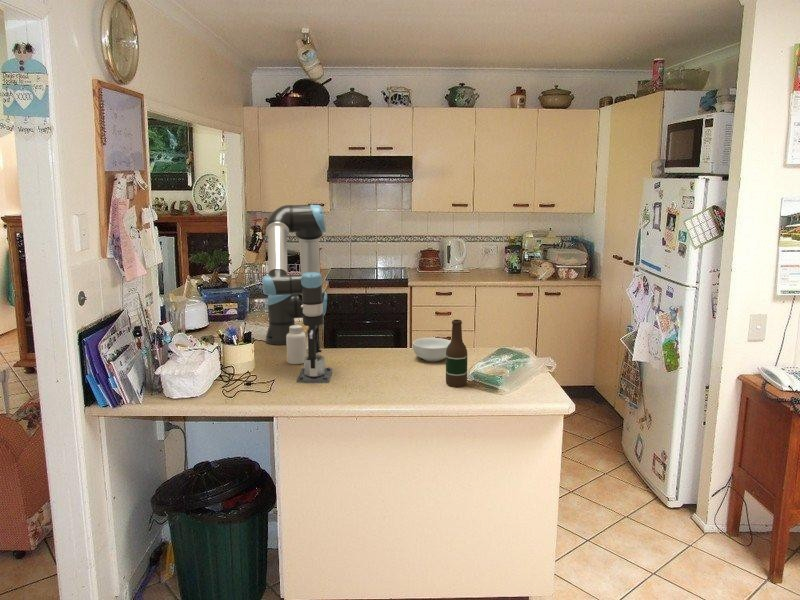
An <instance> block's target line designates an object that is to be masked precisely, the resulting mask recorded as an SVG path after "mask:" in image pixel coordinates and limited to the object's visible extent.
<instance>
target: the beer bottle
mask: <svg viewBox="0 0 800 600" xmlns="http://www.w3.org/2000/svg"><path fill="white" fill-rule="evenodd" d="M451 324H452V325H451V327H452V328H451V339H450V341H451V342H450V344H449V345H448V347H447V350H446V358H445V384H446V385H447V386H449V387H453V388H462V387H463V388H464V387H465V386H466V385H467V384H468V350H467V346H466V345H465V343H464V342H463V330H462V329H463V328H462V324H463V321H462V320H461V319H454V320H453V319H452V321H451Z"/></svg>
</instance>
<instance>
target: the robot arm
mask: <svg viewBox="0 0 800 600" xmlns="http://www.w3.org/2000/svg"><path fill="white" fill-rule="evenodd" d="M324 215H325V214H324V210H323V207H322V205H321V204H312V203H311V204H294V205H293V204H285V205H282V206H280V207H278V208H276V209H275V210H274V211H272V213H271V214H270V216H269V217H268V219H267V220H266V222H265V223H266V224H265V234H266V236H267V240H268V241H267V244H268V245H267V257H268V258H267V275H264V276H262V292H263V293H262V294H264V295H265V296H267V309H268V311H267V312H268V328H267V331H266V335H265V342H266V343H267V344H269V345H275V346H284V345H286V335H287V334H288V333H290V332H289V331H290V330H289V327H290V326H293V325H296V324H295V322H296V321H295V319H302V324H303V325H304V326H305V327H308V330H307V346H308V347H307V350H308V351H307V352H308V353H307V356H308V358H307V360H309V367H310V376H317V359H316V355H320V353H322V349H321V344H320V343H321V342H320V326H322V325H323V324H324V316H326V315H325V314H326V312H327V305H328V302H327V301H328V293H327V292H326V291H324V290H325V289H324V288H323V279H322V274H321V261H320V260H321V257H320V239H321V238H322V237H323V233H325V232H326V231H327V230H326V221H325V216H324ZM290 233H291V234H292V233H294V234H295V237H296V239H297V240H299V260H300V265H299V266H300V267H299V268H300V274H288V273H289V272H288V235H289V234H290ZM286 346H287V345H286Z"/></svg>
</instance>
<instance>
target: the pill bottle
mask: <svg viewBox="0 0 800 600" xmlns="http://www.w3.org/2000/svg"><path fill="white" fill-rule="evenodd" d="M289 330H290V331H289V332H290V333H288V334H287V335H286V361H287V363H288V364H290V365H301V364H304V358H305V357H307V356H308V353H307V335H306V333H305V332H304V331H303V326H302V325H299V324H295V325H293V326H290V327H289Z"/></svg>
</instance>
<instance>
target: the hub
mask: <svg viewBox="0 0 800 600" xmlns="http://www.w3.org/2000/svg"><path fill="white" fill-rule="evenodd" d="M307 358H308V355H307V357H305V358H304V363H303V366H304V367H303V368H304V372H305V375H307V376H310V367H309V360H307ZM316 359H317V376H321V375H324V374H325V368H326V357H325V356H324V355H316Z"/></svg>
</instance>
